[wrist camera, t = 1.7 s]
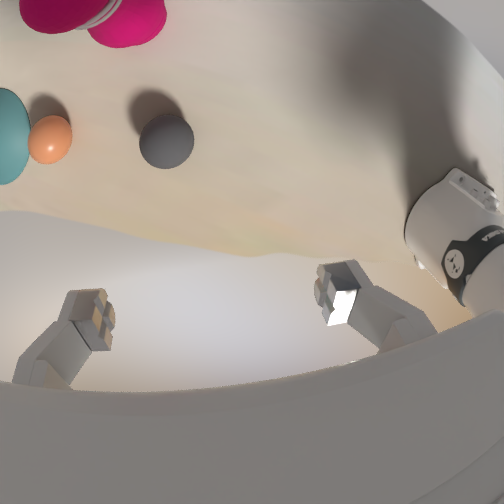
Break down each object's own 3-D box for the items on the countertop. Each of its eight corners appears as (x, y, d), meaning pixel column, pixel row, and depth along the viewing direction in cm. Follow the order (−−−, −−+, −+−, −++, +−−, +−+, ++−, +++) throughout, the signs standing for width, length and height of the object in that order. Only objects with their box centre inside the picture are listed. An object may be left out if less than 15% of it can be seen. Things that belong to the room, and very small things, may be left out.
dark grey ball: (196, 110, 27) (191, 118, 23) (196, 158, 30) (192, 176, 26) (145, 113, 27) (130, 122, 22) (148, 160, 30) (135, 178, 25)
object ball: (77, 107, 24) (53, 116, 20) (82, 151, 28) (61, 168, 23) (41, 115, 24) (15, 127, 19) (47, 157, 27) (23, 175, 23)
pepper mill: (128, 62, 23) (7, 73, 7) (95, 21, 19) (-35, 4, 3) (184, 22, 21) (128, -45, 5) (149, -20, 17) (66, -99, 1)
